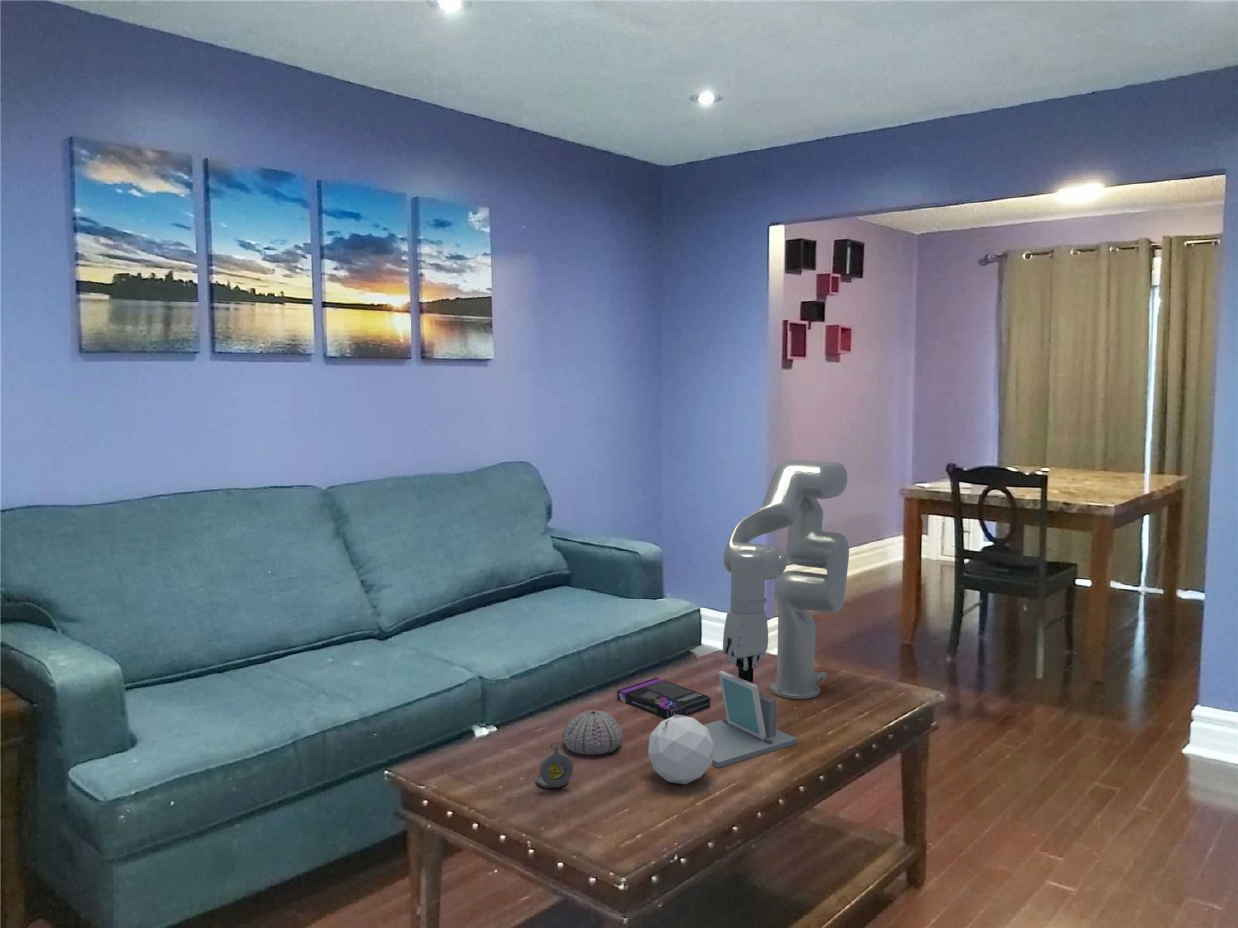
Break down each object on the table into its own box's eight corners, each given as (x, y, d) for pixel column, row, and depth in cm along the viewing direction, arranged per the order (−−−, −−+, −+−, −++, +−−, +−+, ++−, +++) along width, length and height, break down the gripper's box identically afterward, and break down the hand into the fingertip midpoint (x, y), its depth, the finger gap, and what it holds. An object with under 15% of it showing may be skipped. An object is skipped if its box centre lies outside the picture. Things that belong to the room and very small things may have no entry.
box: (616, 703, 241) (670, 723, 226) (616, 689, 240) (670, 709, 226) (656, 689, 250) (711, 708, 235) (656, 676, 249) (711, 694, 235)
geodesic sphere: (676, 778, 182) (702, 711, 187) (621, 759, 191) (648, 695, 196) (710, 801, 191) (734, 737, 196) (657, 782, 200) (681, 720, 205)
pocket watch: (551, 772, 197) (551, 726, 196) (582, 784, 192) (582, 736, 191) (523, 785, 191) (523, 737, 190) (554, 798, 186) (554, 748, 185)
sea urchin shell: (617, 761, 203) (617, 725, 202) (555, 756, 206) (555, 721, 205) (627, 737, 216) (627, 703, 215) (569, 733, 219) (569, 699, 218)
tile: (721, 670, 218) (718, 672, 218) (757, 685, 209) (753, 687, 208) (730, 720, 221) (727, 722, 221) (766, 737, 212) (763, 739, 211)
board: (743, 718, 228) (744, 680, 227) (797, 743, 213) (798, 703, 212) (666, 739, 215) (666, 699, 214) (718, 767, 200) (718, 724, 199)
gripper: (760, 597, 220) (758, 675, 222) (710, 606, 212) (709, 686, 214) (783, 604, 214) (781, 683, 216) (733, 613, 206) (731, 696, 207)
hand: (745, 685), depth 215 cm, fingers closed
